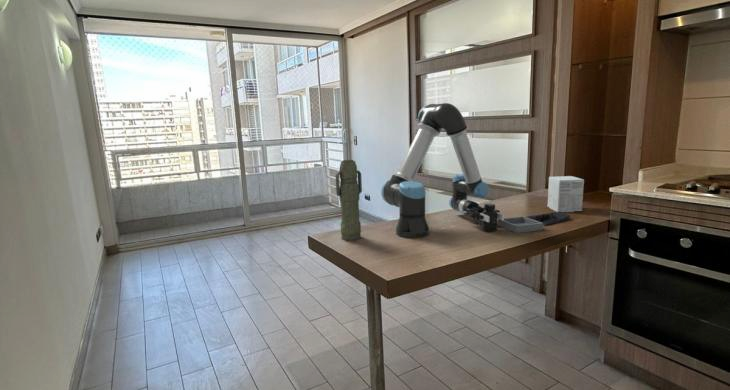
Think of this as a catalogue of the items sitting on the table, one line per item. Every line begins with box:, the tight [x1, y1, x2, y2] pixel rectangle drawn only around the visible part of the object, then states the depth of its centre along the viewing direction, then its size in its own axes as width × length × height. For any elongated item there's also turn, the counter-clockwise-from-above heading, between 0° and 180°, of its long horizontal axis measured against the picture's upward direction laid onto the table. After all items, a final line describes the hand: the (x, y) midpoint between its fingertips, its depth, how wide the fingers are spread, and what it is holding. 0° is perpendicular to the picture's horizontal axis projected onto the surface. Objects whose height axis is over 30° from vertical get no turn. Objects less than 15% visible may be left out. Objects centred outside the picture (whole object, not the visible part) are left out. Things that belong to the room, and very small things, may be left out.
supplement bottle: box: [481, 203, 498, 232], centre depth 182 cm, size 7×7×12 cm
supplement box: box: [547, 175, 585, 213], centre depth 214 cm, size 13×13×18 cm
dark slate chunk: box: [525, 211, 571, 227], centre depth 196 cm, size 15×22×5 cm
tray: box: [497, 215, 544, 234], centre depth 184 cm, size 14×14×3 cm
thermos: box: [335, 159, 363, 242], centre depth 174 cm, size 9×12×35 cm
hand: (495, 218), depth 177 cm, fingers closed on supplement bottle, 7 cm apart
